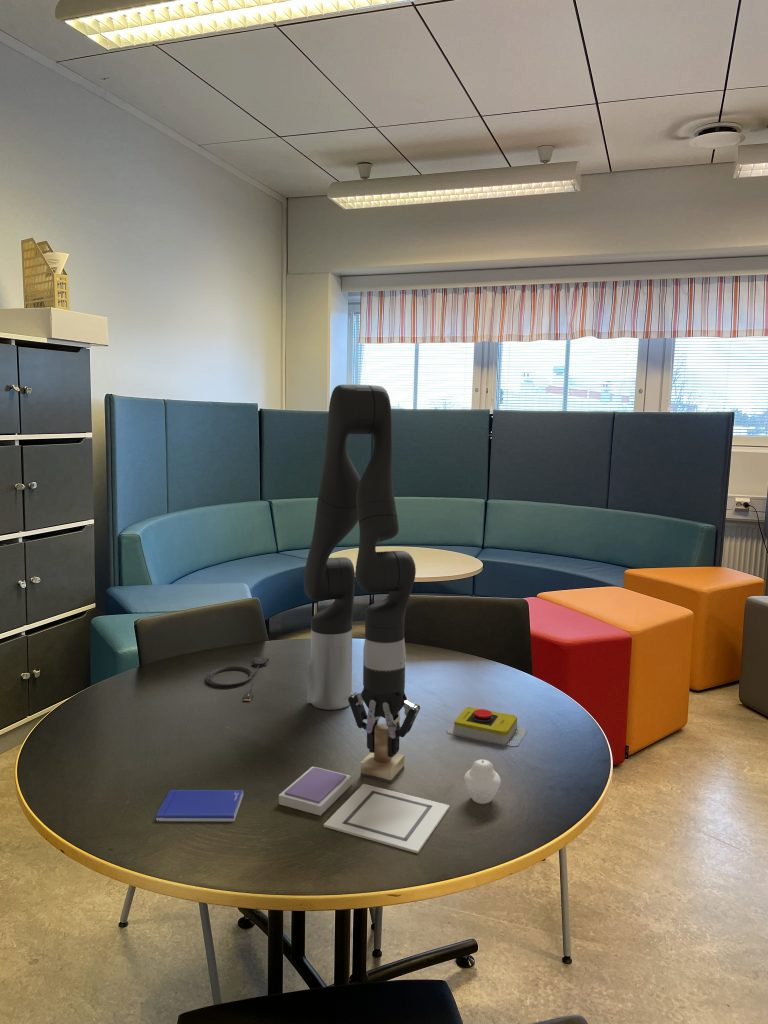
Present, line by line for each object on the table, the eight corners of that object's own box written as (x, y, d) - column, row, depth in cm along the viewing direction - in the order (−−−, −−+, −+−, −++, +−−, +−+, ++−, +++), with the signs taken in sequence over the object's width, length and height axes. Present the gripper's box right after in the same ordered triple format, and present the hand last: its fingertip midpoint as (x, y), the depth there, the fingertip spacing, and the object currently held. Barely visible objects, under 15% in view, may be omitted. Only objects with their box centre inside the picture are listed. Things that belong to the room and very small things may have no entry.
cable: (190, 703, 160) (190, 697, 160) (218, 661, 188) (218, 656, 188) (250, 704, 160) (250, 697, 160) (269, 662, 188) (269, 656, 188)
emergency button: (460, 699, 153) (529, 712, 147) (459, 718, 154) (528, 732, 148) (445, 714, 145) (517, 729, 139) (445, 735, 146) (517, 750, 139)
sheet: (323, 826, 111) (323, 823, 111) (363, 785, 124) (363, 783, 124) (417, 853, 105) (418, 850, 105) (449, 807, 117) (449, 804, 117)
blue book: (243, 788, 121) (170, 788, 120) (233, 815, 112) (155, 815, 112) (243, 797, 121) (170, 797, 121) (234, 824, 113) (155, 824, 113)
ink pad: (278, 804, 118) (278, 793, 118) (312, 774, 128) (312, 764, 127) (320, 815, 114) (320, 804, 114) (351, 784, 124) (351, 774, 124)
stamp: (360, 775, 128) (361, 730, 126) (374, 761, 133) (375, 718, 132) (390, 783, 125) (391, 737, 124) (404, 768, 130) (405, 724, 129)
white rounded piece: (486, 813, 116) (487, 772, 115) (456, 799, 120) (457, 760, 119) (507, 798, 120) (508, 759, 120) (477, 785, 125) (478, 748, 124)
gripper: (339, 662, 126) (339, 753, 128) (412, 674, 120) (410, 770, 122) (358, 649, 133) (357, 737, 135) (428, 661, 127) (426, 752, 129)
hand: (383, 752), depth 129 cm, fingers closed on stamp, 3 cm apart
